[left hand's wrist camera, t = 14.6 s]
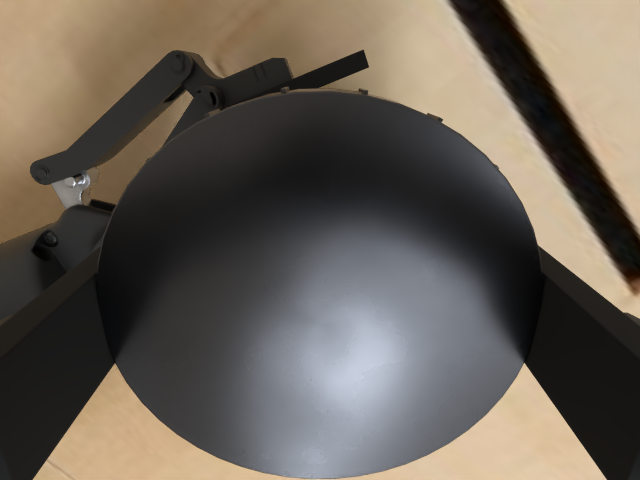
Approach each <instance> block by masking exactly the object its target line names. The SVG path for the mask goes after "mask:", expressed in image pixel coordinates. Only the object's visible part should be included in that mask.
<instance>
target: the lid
mask: <svg viewBox="0 0 640 480" xmlns="http://www.w3.org/2000/svg"><path fill="white" fill-rule="evenodd" d="M204 116H205V119H203V120H201V121H199V122H197V123H195V124H194V125H192V126H191V127H189V128H188V129H186V130H185V131H183V132H182V133H180V134H179V135H177V136H176V137H174V138H173V139H171V140H170V141H169V142H168V143H167V144H166V145H164V146H163V147H162V148H161V149H160V150H159V151H158V152H157V153H156V154H155V155H154V156H152V157H151V158H149V159H147V160H146V163H145V164H144V166H143V167H142V168H141V169H140V171H139V172H138V173H137V174H136V176H135V177H134V178H133V179H132V181H131V182H130V183H129V184H128V186H127V187H126V189H125V191H124V193H123V194H122V196H121V198H120V200H119V201H118V203H117V205H116V207H115V208H114V210H113V212H112V215H111V218H110V220H109V223H108V225H107V228H106V231H105V233H104V236H103V240H102V245H101V250H100V255H99V259H98V266H97V287H96V291H97V301H98V306H99V311H100V315H101V320H102V324H103V328H104V333H105V337H106V341H107V345H108V347H109V350H110V352H111V354H112V357H113V359H114V362H115V364H116V365H117V367H118V369H119V370H120V372H121V374H122V376H123V377H124V379H125V381H126V382H127V384H128V385H129V386H130V388H131V389H132V390H133V392H134V393H135V394H136V396H137V397H138V398H139V399H140V401H141V402H142V403H143V404H144V405H145V406H146V407H147V408H148V409H149V410H150V411H151V412H152V413H153V414H154V415H155V416H156V417H157V418H158V419H159V420H160V421H161V422H162V423H164V424H165V425H166V426H167V427H169V428H170V429H171V430H172V431H174V432H175V433H176V434H177V435H179V436H180V437H182V438H183V439H185V440H187V441H188V442H190V443H191V444H193V445H194V446H196V447H198V448H200V449H202V450H204V451H206V452H208V453H209V454H211V455H213V456H215V457H217V458H220V459H222V460H225V461H228V462H230V463H233V464H235V465H238V466H241V467H244V468H248V469H251V470H255V471H259V472H262V473H267V474H273V475H278V476H284V477H292V478H305V479H337V478H346V477H356V476H362V475H367V474H372V473H377V472H382V471H385V470H389V469H392V468H395V467H398V466H402V465H405V464H407V463H410V462H412V461H415V460H417V459H419V458H422V457H424V456H427V455H429V454H430V453H432V452H434V451H436V450H438V449H440V448H442V447H443V446H445V445H447V444H449V443H450V442H452V441H453V440H455V439H456V438H458V437H459V436H460V435H462V434H463V433H465V432H466V431H468V430H469V429H470V428H471V427H472V426H474V425H475V424H476V423H477V422H478V421H479V420H480V419H482V418H483V417H484V416H485V415H486V414H487V413H488V412H489V411H490V410H491V409H492V408H493V407H494V405H495V404H496V403H497V402H498V401H499V400H500V399H501V398H502V397H503V395H504V394H505V392H506V391H507V390H508V388H509V387H510V385H511V384H512V383H513V381H514V380H515V378H516V377H517V375H518V373H519V371H520V369H521V368H522V366H523V364H524V362H525V360H526V358H527V356H528V354H529V351H530V348H531V346H532V343H533V340H534V336H535V332H536V328H537V323H538V319H539V314H540V310H541V305H542V290H543V278H542V267H541V257H540V252H539V248H538V245H537V241H536V237H535V233H534V229H533V227H532V224H531V222H530V220H529V218H528V215H527V213H526V211H525V209H524V206H523V204H522V202H521V200H520V199H519V197H518V196H517V194H516V193H515V191H514V190H513V188H512V186H511V185H510V183H509V182H508V180H507V179H506V177H505V176H504V175H503V174H502V173H501V172H500V171H499V168H498V166H497V165H495V164H493V163H492V162H491V160H490V159H489V158H488V157H487V156H486V155H485V154H484V153H483V152H481V151H480V150H479V149H478V148H477V147H475V146H474V145H473V144H472V143H471V142H469V141H468V140H467V139H466V138H465V137H463V136H462V135H461V134H459V133H458V132H456V131H454V130H453V129H451V128H449V127H448V126H446V125H444V124H443V123H441V122H442V121H443V119H441V118H440V117H437V116H434V115H432V114H429V113H427V115H426V114H424V113H421V112H419V111H416V110H414V109H412V108H409V107H407V106H405V105H402V104H400V103H397V102H395V101H392V100H389V99H385V98H382V97H378V96H374V95H370V94H368V90H365V89H361V88H359V92H357V91H348V90H340V89H331V88H324V89H297V90H290V91H289V87H284V88H282V89H281V92H278V93H272V94H267V95H264V96H261V97H258V98H255V99H251V100H248V101H245V102H242V103H239V104H236V105H234V106H231V107H228V108H226V109H224V110H222V111H220V110H219V109H217V110H214V111H211V112H209V113H206V114H205V115H204Z"/></svg>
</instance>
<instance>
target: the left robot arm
mask: <svg viewBox="0 0 640 480" xmlns="http://www.w3.org/2000/svg"><path fill="white" fill-rule="evenodd" d="M538 248H539V252H540V257H541V267H542V278H543V290H542V305H541V310H540V314H539V319H538V323H537V328H536V332H535V336H534V340H533V343H532V346H531V348H530V351H529V354H528V356H527V358H526V360H525V362H524V363H525V364H526V366H527V367H528V368H529V370H530V371H531V373H532V374H533V375H534V377H535V378H536V380H537V381H538V383H539V384H540V385H541V387H542V388H543V390H544V391H545V392H546V394H547V395H548V397H549V398H550V400H551V401H552V402H553V404H554V405H555V407H556V408H557V409H558V411H559V412H560V414H561V415H562V417H563V418H564V419H565V421H566V422H567V424H568V425H569V426H570V428H571V429H572V431H573V432H574V434H575V435H576V436H577V438H578V439H579V441H580V442H581V443H582V445H583V446H584V448H585V449H586V451H587V452H588V453H589V455H590V456H591V458H592V459H593V461H594V462H595V463H596V465H597V466H598V468H599V469H600V470H601V472H602V473H603V475H604V476H605V478H606V479H607V480H640V319H639V318H637V317H635V316H633V315H631V314H629V313H623V312H622V311H620V310H619V309H618V308H617V307H615V306H614V305H613V304H612V303H610V302H609V301H608V300H607V299H605V298H604V297H603V296H601V295H600V294H599V293H598V292H596V291H595V290H594V289H593V288H591V287H590V286H589V285H588V284H586V283H585V282H584V281H582V280H581V279H580V278H579V277H577V276H576V275H575V274H574V273H572V272H571V271H570V270H569V269H567V268H566V267H565V266H564V265H562V264H561V263H560V262H558V261H557V260H556V259H555V258H553V257H552V256H551V255H550V254H548V253H547V252H546V251H545V250H543V249H542V248H541V247H539V246H538ZM100 250H101V246H100V247H99V248H98V249H96V250H95V251H94V252H92V253H91V254H90V255H89V256H87V257H86V258H85V259H84V260H82V261H81V262H80V263H79V264H77V265H76V266H75V267H73V268H72V269H71V270H70V271H68V272H67V273H66V274H65V275H63V276H62V277H61V278H60V279H58V280H57V281H56V282H55V283H53V284H52V285H51V286H49V287H48V288H47V289H46V290H44V291H43V292H42V293H41V294H39V295H38V296H37V297H36V298H34V299H33V300H32V301H30V302H29V303H28V304H27V305H25V306H24V307H23V308H22V309H20V310H19V311H18V312H17V313H15V314H12V315H10V316H8V317H6V318H4V319H2V320H0V480H33V478H34V477H35V475H36V474H37V473H38V471H39V470H40V468H41V467H42V466H43V464H44V463H45V461H46V460H47V458H48V457H49V456H50V454H51V453H52V451H53V450H54V449H55V447H56V446H57V444H58V443H59V441H60V440H61V439H62V437H63V436H64V434H65V433H66V432H67V430H68V429H69V427H70V426H71V424H72V423H73V422H74V420H75V419H76V417H77V416H78V415H79V413H80V412H81V410H82V409H83V407H84V406H85V405H86V403H87V402H88V400H89V399H90V398H91V396H92V395H93V393H94V392H95V390H96V389H97V388H98V386H99V385H100V383H101V382H102V381H103V379H104V378H105V376H106V375H107V373H108V372H109V371H110V369H111V368H112V366H113V365H114V364H115V362H114V359H113V357H112V354H111V352H110V350H109V347H108V345H107V341H106V337H105V333H104V328H103V324H102V320H101V315H100V311H99V306H98V301H97V291H96V287H97V266H98V259H99V255H100Z"/></svg>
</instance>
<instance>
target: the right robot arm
mask: <svg viewBox="0 0 640 480" xmlns="http://www.w3.org/2000/svg"><path fill="white" fill-rule="evenodd" d="M368 67H369V66H368V62H367V59H366V56H365V53H364V50H361V51H359V52H357V53H354V54H352V55H349V56H347V57H345V58H342V59H340V60H337V61H335V62H333V63H330V64H328V65H325V66H323V67H321V68H318V69H316V70H313V71H311V72H309V73H306V74H304V75H301V76H299V77H297V78H293V75H292V72H291V70H290V67H289V64H288V62H287V59H285V58H271V59H269V60H266V61H264V62H262V63H259V64H257V65H255V66H252V67H250V68H248V69H245V70H243V71H241V72H238V73H236V74H234V75H231V76H229V77H226V78H220V77H218V76H216V75H215V74H214V73H213V72H212V71H211V70H210V69H209V68H208V66H207V65H206V64H205V62H204V60H203V58H202V57H201V56H199V55H198V54H195V53H191V52H185V51H179V50H176V51H172V52H170V53H168V54H167V55H166V56H165V57H164V58H163V59H162V60H161V61H160V62H159V63H158V64H157V65H156V66H155V67H153V68H152V69H151V70H150V71H149V72H148V73H147V74H146V75H145V76H144V77H143V78H142V79H141V80H140V81H139V82H138V83H137V84H136V85H135V86H134V87H132V88H131V89H130V90H129V91H128V92H127V93H126V94H125V95H124V96H123V97H122V98H121V99H120V100H119V101H118V102H117V103H116V104H115V105H114V106H113V107H112V108H110V109H109V110H108V111H107V112H106V113H105V114H104V115H103V116H102V117H101V118H100V119H99V120H98V121H97V122H96V123H95V124H94V125H93V126H92V127H91V128H90V129H88V130H87V131H86V132H85V133H84V134H83V135H82V136H81V137H80V138H79V139H78V140H77V141H76V142H75V143H74V144H73V145H72V146H71V147H70V148H69V149H67V150H66V151H63V152H60V153H58V154H55V155H52V156H49V157H46V158H43V159H40V160H38V161H35V162H34V163H32V165H31V167H30V173H31V175H32V177H33V178H34V180H35V181H37V182H38V183H40V184H43V185H48V184H51V185H52V186H53V188H54V190H55V192H56V193H57V195H58V197H59V199H60V200H61V202H62V204H63V205H64V207H65V209H66V210H65V211H64V212H63V213H62V215H61V217H60V218H59V220H58V221H57V222H54V223H52V224H49V225H47V226H44V227H42V228H39V229H37V230H34V231H32V232H29V233H27V234H24V235H22V236H19V237H17V238H14V239H12V240H9V241H7V242H4V243H2V244H0V320H2V319H4V318H6V317H8V316H10V315H12V314H15V313H17V312H18V311H19V310H20V309H22V308H23V307H24V306H25V305H27V304H28V303H29V302H30V301H32V300H33V299H34V298H36V297H37V296H38V295H39V294H41V293H42V292H43V291H44V290H46V289H47V288H48V287H49V286H51V285H52V284H53V283H55V282H56V281H57V280H58V279H60V278H61V277H62V276H63V275H65V274H66V273H67V272H68V271H70V270H71V269H72V268H73V267H75V266H76V265H77V264H79V263H80V262H81V261H82V260H84V259H85V258H86V257H87V256H89V255H90V254H91V253H92V252H94V251H95V250H96V249H98V248H99V247H100V246H101V245H102V240H103V236H104V233H105V231H106V228H107V225H108V223H109V220H110V218H111V215H112V212H113V210H114V208H115V207H116V204H112V203H108V202H104V201H100V200H95V199H91V197H90V193H89V191H90V188H91V187H92V186H93V185H94V184H95V183H97V181H98V179H99V173H100V172H99V169H98V168H97V167H96V166H99V165H101V164H103V163H105V162H107V161H108V160H110V159H111V158H112V157H114V156H115V155H116V154H117V153H118V152H119V151H121V150H122V149H123V148H124V147H125V146H126V145H127V144H128V143H129V142H130V141H132V140H133V139H134V138H135V137H136V136H137V135H138V134H139V133H140V132H141V131H143V130H144V129H145V128H146V127H147V126H148V125H149V124H150V123H151V122H152V121H154V120H155V119H156V118H157V117H158V116H159V115H160V114H161V113H162V112H163V111H165V110H166V109H167V108H168V107H169V106H170V105H171V104H172V103H173V102H174V101H175V100H177V99H178V98H179V97H180V96H181V95H182V94H183V93H184V92H185V91H186V90H187V91H188V92H189V93H190V94H191V95H192V96H193V97H194V98H193V100H192V101H191V103H190V104H189V106H188V108H187V109H186V111H185V112H184V114H183V115H182V117H181V118H180V120H179V122H178V123H177V125H176V126H175V128H174V129H173V131H172V132H171V134H170V136H169V137H168V139H167V140H166V142H165V143H164V145H166V144H167V143H168V142H169V141H170V140H171V139H173V138H174V137H176V136H177V135H179V134H180V133H182V132H183V131H185V130H186V129H188V128H189V127H191V126H192V125H194V124H195V123H197V122H199V121H201V120H203V119H205V116H204V115H205V114H206V113H209V112H211V111H214V110H217V109H219V110H220V111H222V110H224V109H226V108H228V107H231V106H234V105H236V104H239V103H242V102H245V101H248V100H251V99H255V98H258V97H261V96H264V95H267V94H272V93H278V92H281V89H282V88H284V87H289V91H290V90H297V89H317V88H319V87H322V86H324V85H327V84H329V83H332V82H334V81H337V80H339V79H341V78H344V77H346V76H349V75H351V74H354V73H356V72H359V71H361V70H363V69H366V68H368ZM164 145H163V146H164ZM163 146H162V147H163Z"/></svg>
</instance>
